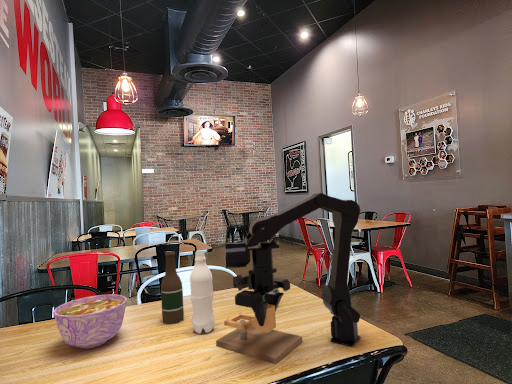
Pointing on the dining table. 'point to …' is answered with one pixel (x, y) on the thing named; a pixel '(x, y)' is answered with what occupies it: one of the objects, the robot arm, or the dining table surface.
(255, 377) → the dining table surface
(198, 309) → the water bottle
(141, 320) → the dining table surface
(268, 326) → the square frame with handle
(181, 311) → the beer bottle
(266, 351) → the board
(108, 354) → the dining table surface
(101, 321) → the bowl of food
